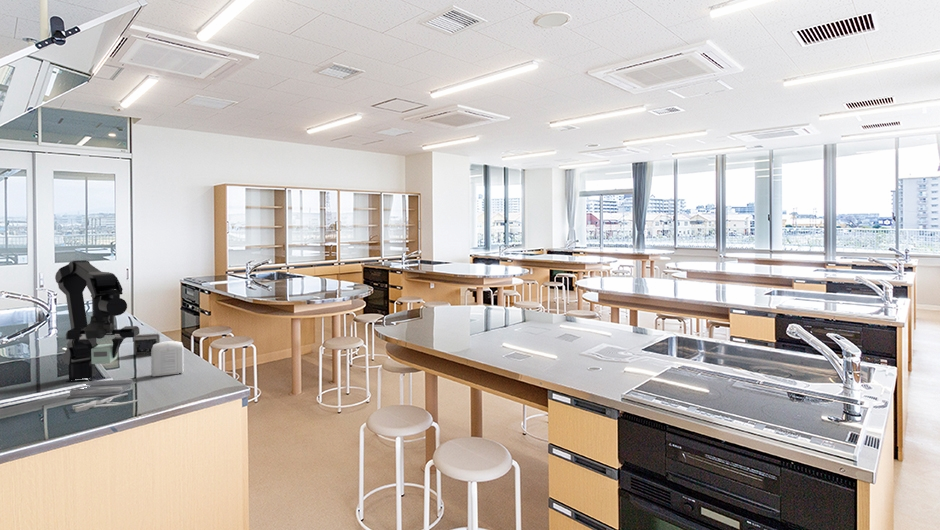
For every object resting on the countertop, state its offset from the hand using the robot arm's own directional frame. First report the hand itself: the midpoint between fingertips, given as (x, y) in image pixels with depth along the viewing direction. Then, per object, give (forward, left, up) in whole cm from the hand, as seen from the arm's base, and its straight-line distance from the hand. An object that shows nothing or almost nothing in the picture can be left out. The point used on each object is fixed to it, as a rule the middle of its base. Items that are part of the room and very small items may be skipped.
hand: (104, 358), depth 159 cm
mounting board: (-1, 0, -11) cm, 11 cm away
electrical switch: (-2, +46, -11) cm, 47 cm away
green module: (0, 0, -1) cm, 1 cm away
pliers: (+5, -14, -11) cm, 19 cm away
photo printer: (+14, +15, -11) cm, 23 cm away
